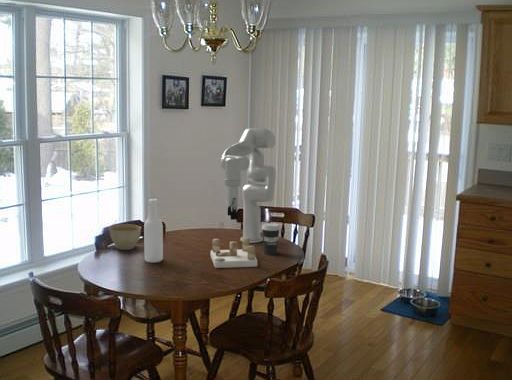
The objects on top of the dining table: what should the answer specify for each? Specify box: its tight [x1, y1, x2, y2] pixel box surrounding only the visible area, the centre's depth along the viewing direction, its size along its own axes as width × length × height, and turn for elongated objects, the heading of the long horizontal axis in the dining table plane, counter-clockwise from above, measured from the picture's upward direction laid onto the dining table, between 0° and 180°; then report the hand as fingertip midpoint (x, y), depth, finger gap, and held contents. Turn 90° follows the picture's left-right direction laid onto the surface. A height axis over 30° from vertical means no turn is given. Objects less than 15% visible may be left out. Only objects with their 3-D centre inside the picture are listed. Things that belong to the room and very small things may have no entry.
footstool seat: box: [210, 248, 258, 269], centre depth 286 cm, size 20×20×3 cm
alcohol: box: [143, 198, 164, 264], centre depth 282 cm, size 9×9×30 cm
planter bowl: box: [109, 223, 142, 251], centre depth 306 cm, size 16×16×11 cm
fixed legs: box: [212, 238, 256, 260], centre depth 285 cm, size 19×19×6 cm
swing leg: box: [216, 240, 238, 256], centre depth 284 cm, size 10×4×6 cm, turn 101°
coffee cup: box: [261, 222, 281, 256], centre depth 300 cm, size 10×10×15 cm
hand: (232, 217), depth 289 cm, fingers open, 9 cm apart
